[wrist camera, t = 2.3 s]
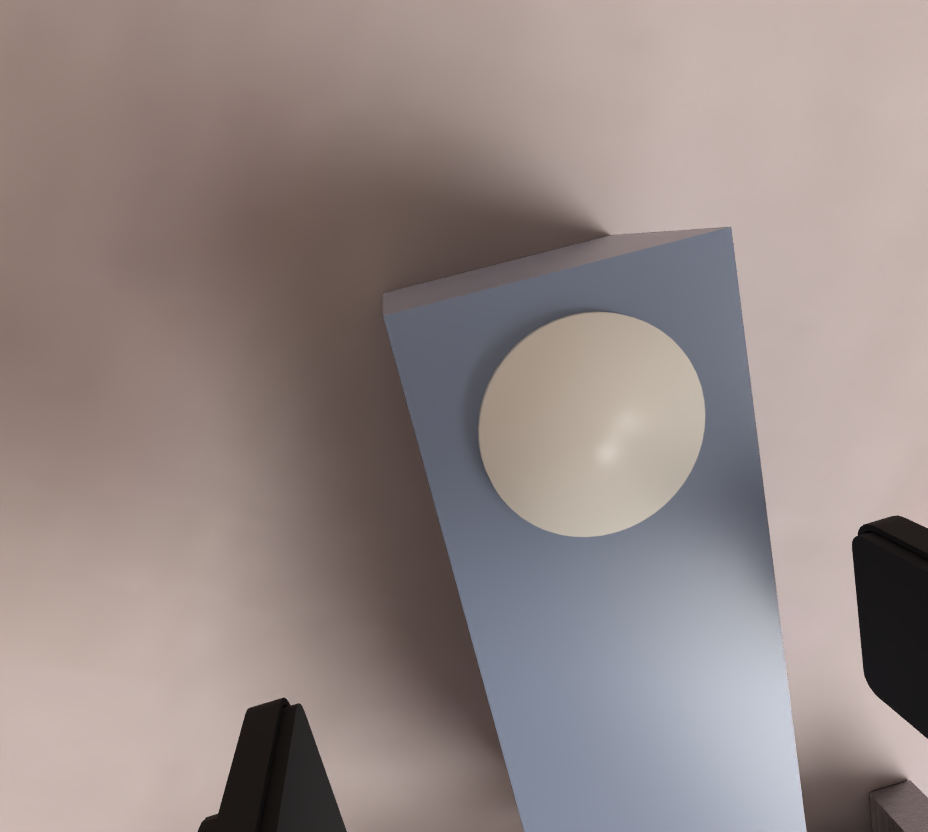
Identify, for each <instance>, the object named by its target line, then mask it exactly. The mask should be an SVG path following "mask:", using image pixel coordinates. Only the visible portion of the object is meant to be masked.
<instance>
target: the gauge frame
mask: <svg viewBox="0 0 928 832" xmlns="http://www.w3.org/2000/svg"><path fill="white" fill-rule="evenodd" d="M870 806H871V818H872V830H873V832H928V798H927V797H926V796H925V795H924V794H923V793H922V792H921V791H920V790H919V789H918V788H917V787H916V786H915V785H914V784H913V783H912V782H911V781H910V780H909V781H906V782H903V783H900V784H896V785H893V786H890V787H887V788H883V789H880V790H877V791H874V792H870Z"/></svg>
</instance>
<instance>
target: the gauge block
mask: <svg viewBox="0 0 928 832" xmlns="http://www.w3.org/2000/svg"><path fill="white" fill-rule="evenodd" d="M383 318H384V322H385V326H386V329H387V333H388V336H389V340H390V344H391V347H392V351H393V355H394V358H395V362H396V366H397V369H398V373H399V377H400V380H401V384H402V388H403V391H404V395H405V399H406V402H407V406H408V409H409V413H410V417H411V420H412V424H413V428H414V431H415V435H416V439H417V442H418V446H419V450H420V453H421V457H422V461H423V464H424V468H425V472H426V475H427V479H428V482H429V486H430V490H431V493H432V497H433V501H434V504H435V508H436V512H437V515H438V519H439V523H440V526H441V530H442V534H443V537H444V541H445V545H446V548H447V552H448V555H449V559H450V563H451V566H452V570H453V574H454V577H455V581H456V585H457V588H458V592H459V596H460V599H461V603H462V607H463V610H464V614H465V618H466V621H467V625H468V628H469V632H470V636H471V639H472V643H473V647H474V650H475V654H476V658H477V661H478V665H479V669H480V672H481V676H482V680H483V683H484V687H485V691H486V694H487V698H488V701H489V705H490V709H491V712H492V716H493V720H494V723H495V727H496V731H497V734H498V738H499V742H500V745H501V749H502V753H503V756H504V760H505V763H506V767H507V771H508V774H509V778H510V782H511V785H512V789H513V793H514V796H515V800H516V804H517V807H518V811H519V815H520V818H521V822H522V826H523V829H524V832H807V831H806V823H805V815H804V807H803V799H802V791H801V783H800V775H799V767H798V759H797V751H796V743H795V735H794V727H793V719H792V711H791V703H790V695H789V687H788V679H787V671H786V663H785V655H784V647H783V639H782V631H781V623H780V615H779V607H778V599H777V591H776V583H775V575H774V567H773V559H772V551H771V543H770V535H769V527H768V519H767V511H766V503H765V495H764V487H763V479H762V470H761V462H760V454H759V446H758V438H757V430H756V422H755V414H754V406H753V398H752V390H751V382H750V374H749V366H748V358H747V350H746V342H745V334H744V326H743V318H742V310H741V302H740V294H739V286H738V278H737V270H736V262H735V254H734V246H733V238H732V230H731V227H721V228H707V229H692V230H678V231H664V232H649V233H635V234H621V235H609V236H605V237H602V238H598V239H594V240H590V241H586V242H582V243H578V244H574V245H570V246H566V247H562V248H558V249H554V250H550V251H547V252H543V253H539V254H535V255H531V256H527V257H523V258H519V259H515V260H511V261H507V262H503V263H499V264H495V265H492V266H488V267H484V268H480V269H476V270H472V271H468V272H464V273H460V274H456V275H452V276H448V277H444V278H440V279H437V280H433V281H429V282H425V283H421V284H417V285H413V286H409V287H405V288H401V289H397V290H393V291H389V292H385V293H383Z"/></svg>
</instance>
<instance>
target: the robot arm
mask: <svg viewBox="0 0 928 832" xmlns="http://www.w3.org/2000/svg"><path fill="white" fill-rule="evenodd" d="M852 552H853V562H854V573H855V584H856V595H857V605H858V616H859V627H860V637H861V648H862V659H863V669H864V675H865V678H866V681H867V683H868V685H869V686H870V688H871V689H872V691H873V692H874V693H875V694H876V695H877V696H878V697H879V698H880V699H881V700H882V701H883V702H885V703H886V704H887V705H888V706H889V707H891V708H892V709H893V710H894V711H895V712H897V713H898V714H899V715H900V716H901V717H902V718H904V719H905V720H906V721H907V722H908V723H910V724H911V725H912V726H913V727H914V728H916V729H917V730H918V731H919V732H920V733H921V734H923V735H924V736H925V737H926V738H927V739H928V528H926V527H923V526H921V525H919V524H917V523H915V522H913V521H911V520H908V519H906V518H904V517H901V516H891V517H888V518H885V519H881V520H878V521H875V522H871V523H868V524H864V525H863V526H861V527H860V529H859V531H858V536H856V537H855V538H854V539H853V541H852ZM198 832H347V831H346V828H345V825H344V822H343V820H342V817H341V814H340V811H339V808H338V805H337V803H336V800H335V797H334V794H333V791H332V788H331V785H330V783H329V780H328V777H327V774H326V771H325V768H324V766H323V763H322V760H321V757H320V754H319V751H318V748H317V746H316V743H315V740H314V737H313V734H312V731H311V729H310V726H309V723H308V720H307V717H306V714H305V711H304V709H303V707H302V705H301V704H299V703H298V704H295V705H292V706H290V704H289V702H288V700H287V699H286V698H281V699H278V700H274V701H271V702H268V703H264V704H261V705H258V706H254V707H251V708H249V709H247V712H246V714H245V718H244V721H243V725H242V729H241V732H240V736H239V740H238V743H237V747H236V751H235V754H234V758H233V762H232V765H231V769H230V773H229V776H228V780H227V784H226V787H225V791H224V795H223V798H222V802H221V806H220V809H219V813H218V814H216V815H213V816H209V817H206V818H205V820H204V821H203V822H202V823H201V825H200V827H199V830H198Z"/></svg>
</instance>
